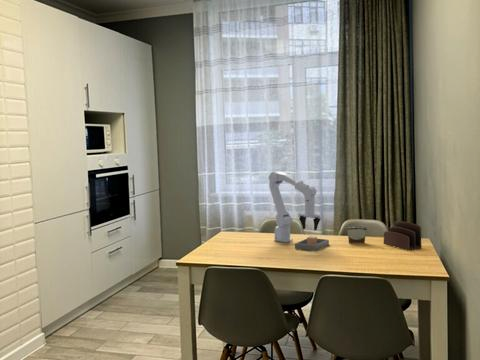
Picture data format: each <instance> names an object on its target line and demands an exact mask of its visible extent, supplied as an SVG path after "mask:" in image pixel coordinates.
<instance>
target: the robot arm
mask: <svg viewBox="0 0 480 360" xmlns="http://www.w3.org/2000/svg"><path fill="white" fill-rule="evenodd" d="M268 180H269V182H268V183H269V184H268V186H269V190H270V193H271V196H272V200H273V203H274V207H275V209H276V215H275V219H276V222H275V223H276V226H275V227H274V240H273V241H275V242H283V243H288V242H291V241H293V240H294V239H293V238H291V225H292V224H293V218H292V217H291V215H290V213H289V212H288V211H287V210H286V208H285V207H286V206H285V204H284V201H283V198H282V194H281V191H280V188H279V187H280V186H281V184H282V183H283V182H286V183H287V184H289V185H291V186H293V187H294V189H295V191H296V190H297V191H298V192H299V193H302V195H303V196H304V213H303V212H300V213H297V214H298V215H297V216H298V220H299V222H300V224H301V227H302V229H303V230H305V229H306V227H307V226H306V222H307V218H310V219H311V218H312V219H313V221H312V222H313V230H314V231H317V230H318V227H319V223H320V221H321V219H323V217H322V214H315V213H316V212H315V207H316V205H315V203H316V202H315V201H316V200H315V197H316V195H317V189H316V187H315V186H310V185H309V184H306V183H304V181H303V180H298V181H297V180H296V179H295V178H293V177H291V176H290V175H289V174H288V173H286V172H285V171H283V170H280V171H272V172H270V173H269V175H268Z"/></svg>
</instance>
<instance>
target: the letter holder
mask: <svg viewBox="0 0 480 360" xmlns="http://www.w3.org/2000/svg"><path fill="white" fill-rule="evenodd" d="M388 230H389V231H384V232H383V245H385V244H386V246H389V245H390V246H389V247H393V246H395V247H394V248H397V247H399V248H398V249H401V248H404V249H407V250H406V251H408V250H410V251H413V250H412V249H416V250H419V249H418V248H421V249H422V227H421V225H419V224H415V223H414V222H413V223H412V222H407V221H402V220H401V221H400V220H397V221H395V222H394V226H390V227H389V229H388ZM404 249H403V250H404Z"/></svg>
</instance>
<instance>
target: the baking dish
mask: <svg viewBox="0 0 480 360" xmlns="http://www.w3.org/2000/svg"><path fill="white" fill-rule="evenodd" d="M329 245H330V240H329V239H324V238H318V237H317V245H315V246H314V245H307V238H304V239H302V240H300V241H297V242H294V249H296V250H304V251H311V252H317V251H318V250H320V249H323V248H325V247H328V246H329Z"/></svg>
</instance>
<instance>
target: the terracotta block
mask: <svg viewBox="0 0 480 360" xmlns="http://www.w3.org/2000/svg"><path fill="white" fill-rule="evenodd" d="M317 238H318V237H317V236H307V237H306V239H307V245H314V246H315V245H317Z"/></svg>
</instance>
